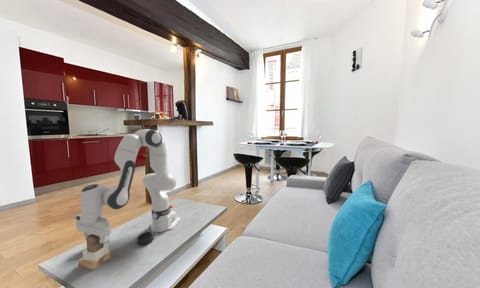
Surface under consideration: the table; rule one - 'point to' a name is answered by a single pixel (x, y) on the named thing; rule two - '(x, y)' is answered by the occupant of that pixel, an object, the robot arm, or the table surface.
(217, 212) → the table surface
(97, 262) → the oak base block
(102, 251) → the off-white top block
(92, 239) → the walnut block
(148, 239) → the smart speaker
